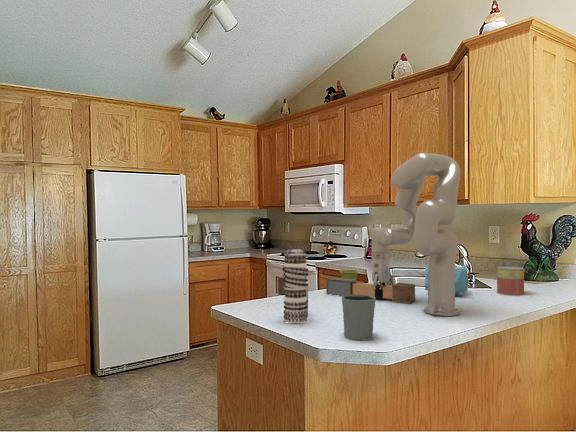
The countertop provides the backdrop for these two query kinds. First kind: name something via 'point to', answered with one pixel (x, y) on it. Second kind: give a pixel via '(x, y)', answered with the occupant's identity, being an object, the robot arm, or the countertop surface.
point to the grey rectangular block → (339, 286)
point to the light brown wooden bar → (370, 290)
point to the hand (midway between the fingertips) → (380, 297)
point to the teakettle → (460, 280)
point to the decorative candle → (295, 286)
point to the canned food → (510, 281)
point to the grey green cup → (358, 316)
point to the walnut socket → (403, 293)
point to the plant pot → (349, 274)
